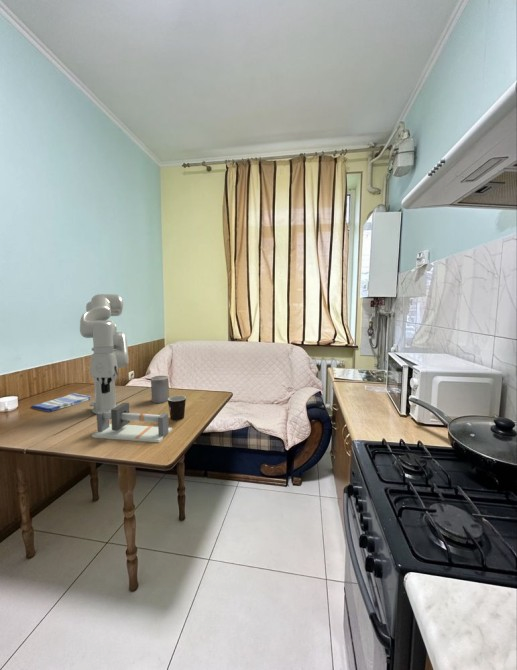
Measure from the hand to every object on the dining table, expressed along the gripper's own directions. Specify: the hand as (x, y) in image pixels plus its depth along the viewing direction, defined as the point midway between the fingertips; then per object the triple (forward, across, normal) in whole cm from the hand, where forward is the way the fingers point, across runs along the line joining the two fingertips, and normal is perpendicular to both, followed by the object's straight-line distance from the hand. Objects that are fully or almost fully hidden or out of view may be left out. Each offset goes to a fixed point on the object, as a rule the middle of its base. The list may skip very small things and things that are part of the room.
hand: (105, 392), depth 126 cm
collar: (+15, +6, +1) cm, 16 cm away
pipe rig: (+18, +11, +1) cm, 21 cm away
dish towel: (+17, -50, +31) cm, 61 cm away
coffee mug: (+18, +23, +19) cm, 35 cm away
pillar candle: (+17, +2, +44) cm, 47 cm away
